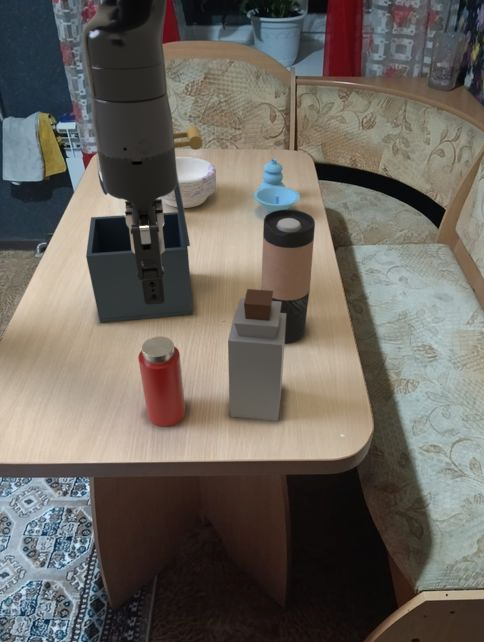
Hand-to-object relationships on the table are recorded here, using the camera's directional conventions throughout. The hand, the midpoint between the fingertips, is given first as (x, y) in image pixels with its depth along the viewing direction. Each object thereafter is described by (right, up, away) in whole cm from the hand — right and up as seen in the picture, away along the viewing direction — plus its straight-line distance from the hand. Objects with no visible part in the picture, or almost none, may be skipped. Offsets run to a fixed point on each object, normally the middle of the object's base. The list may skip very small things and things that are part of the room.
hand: (153, 282), depth 64 cm
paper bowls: (-6, +28, +67) cm, 72 cm away
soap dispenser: (+16, +26, +65) cm, 71 cm away
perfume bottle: (+12, -16, +14) cm, 24 cm away
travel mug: (+16, -5, +28) cm, 32 cm away
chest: (-8, +2, +34) cm, 35 cm away
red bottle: (-1, -17, +12) cm, 21 cm away
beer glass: (-18, +20, +56) cm, 63 cm away
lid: (-1, +19, +22) cm, 29 cm away
